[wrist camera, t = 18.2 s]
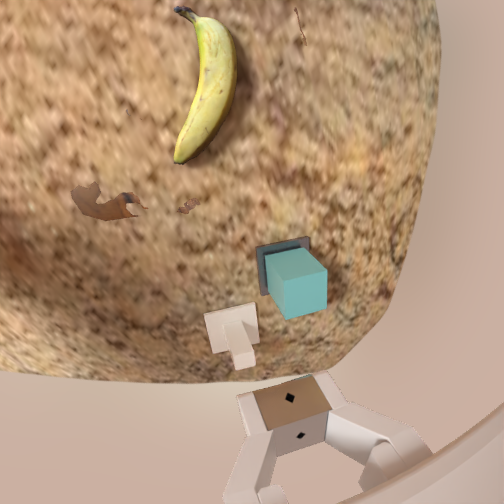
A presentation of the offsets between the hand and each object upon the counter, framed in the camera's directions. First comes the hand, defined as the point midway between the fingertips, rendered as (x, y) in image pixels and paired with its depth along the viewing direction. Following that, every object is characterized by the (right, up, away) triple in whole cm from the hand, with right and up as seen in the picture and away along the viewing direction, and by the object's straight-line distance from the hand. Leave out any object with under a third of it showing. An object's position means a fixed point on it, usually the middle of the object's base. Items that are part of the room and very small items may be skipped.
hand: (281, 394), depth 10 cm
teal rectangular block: (+3, +2, +32) cm, 32 cm away
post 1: (-4, -6, +35) cm, 35 cm away
